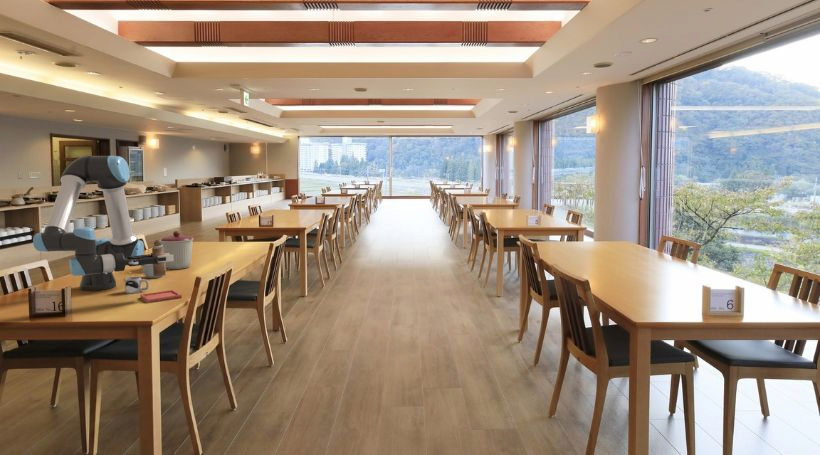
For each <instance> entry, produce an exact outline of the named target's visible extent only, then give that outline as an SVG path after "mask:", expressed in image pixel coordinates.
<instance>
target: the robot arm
mask: <svg viewBox="0 0 820 455" xmlns="http://www.w3.org/2000/svg"><path fill="white" fill-rule="evenodd" d="M130 173H131V172H130V167H129V164H128V162H127V160H125V158H123V157H122V156H119V155H84V156H81V157H78V158H76V159H75V160H73V161H72V162H71V163H70V164H69V165H68V166H67V167H65V169H64V171H63V172H62V174H61V177H60V187H59V190H58V193H57V196H56V198H55V201H54V204H53V205H52V206H53V207H52V210H51V212H50V215H49V217H48V220H47V223H46V226H45V228H44V230H43V232H37V233H36V234H35V235H34V236H33V239H32V243H33V244H32V245H33V248H34V249H35V251H37V252H47V253H49V252H74V256H73V257H71V258H69V260H68V261H69V264H68V265H69V271H70V274H71V276H73V277H75V276H76V277H77V276H79V277H80V276H81V279H80V284H79V289H80V290H81V291H88V292H89V291H90V292H91V291H103V290H108V289H112V288H115V287H116V286H117V281H116V277H115V275H114V274H113V272H115V273H117V272H124V271H125V269H126V266H129V267H139V266H141V265H148V264H158V263H159V262H168V261H174V258H173V255H170V253H165V254H164V256H157V257H153V256H152V252H150V253H149V254H144V253H145V245H144V242H143V241H142V240H140V239H139V240H138V235H136V234H135V233H134V232H133V227H132V223H131V216H130V213H129V208H128V202H127V197H126V192H125V187H126V186H127V183H128V182H129V181H130V178H131V176H130ZM88 183H96V185H97V187H98V189H100V190H101V191H102V193H103V197H104V202H105V203H104V204H105V207H106V212H107V217H108V220H109V226H110V231H111V236H112V237H111V238H109V237H104V238H97V237H96V233H95V232H96V231H95V229H94V227H93V226H80V227H74V228H73V230H72V231H71V232H67V231H68V228H69V226H70V223H71V220H72V217H73V214H74V212H75V209H76V206H77V202H78V200H79V197H80V195H81V190H83V189H84V188H86V185H87V184H88Z"/></svg>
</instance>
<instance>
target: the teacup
mask: <svg viewBox="0 0 820 455" xmlns="http://www.w3.org/2000/svg"><path fill="white" fill-rule="evenodd" d="M140 267H141V269H142V270H143V275H144V276H145V277H147V278H148V279H159V278H162V277H163V276H154V274H153V264H148V265H140ZM166 270H167V268H166V267H165V272H166Z"/></svg>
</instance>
